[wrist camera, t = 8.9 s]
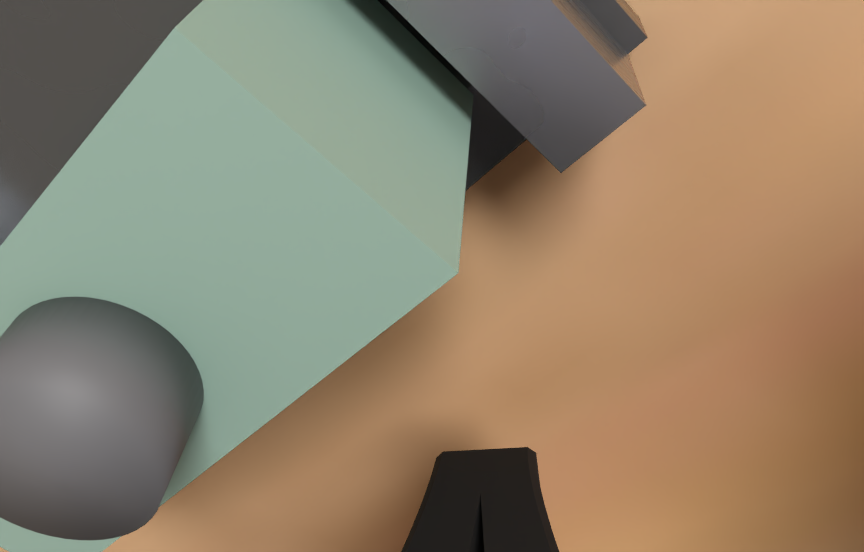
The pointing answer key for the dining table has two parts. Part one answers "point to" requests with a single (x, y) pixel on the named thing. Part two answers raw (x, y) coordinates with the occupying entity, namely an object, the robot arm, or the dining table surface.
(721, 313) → the dining table surface
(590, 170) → the dining table surface
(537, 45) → the press
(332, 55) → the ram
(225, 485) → the dining table surface
